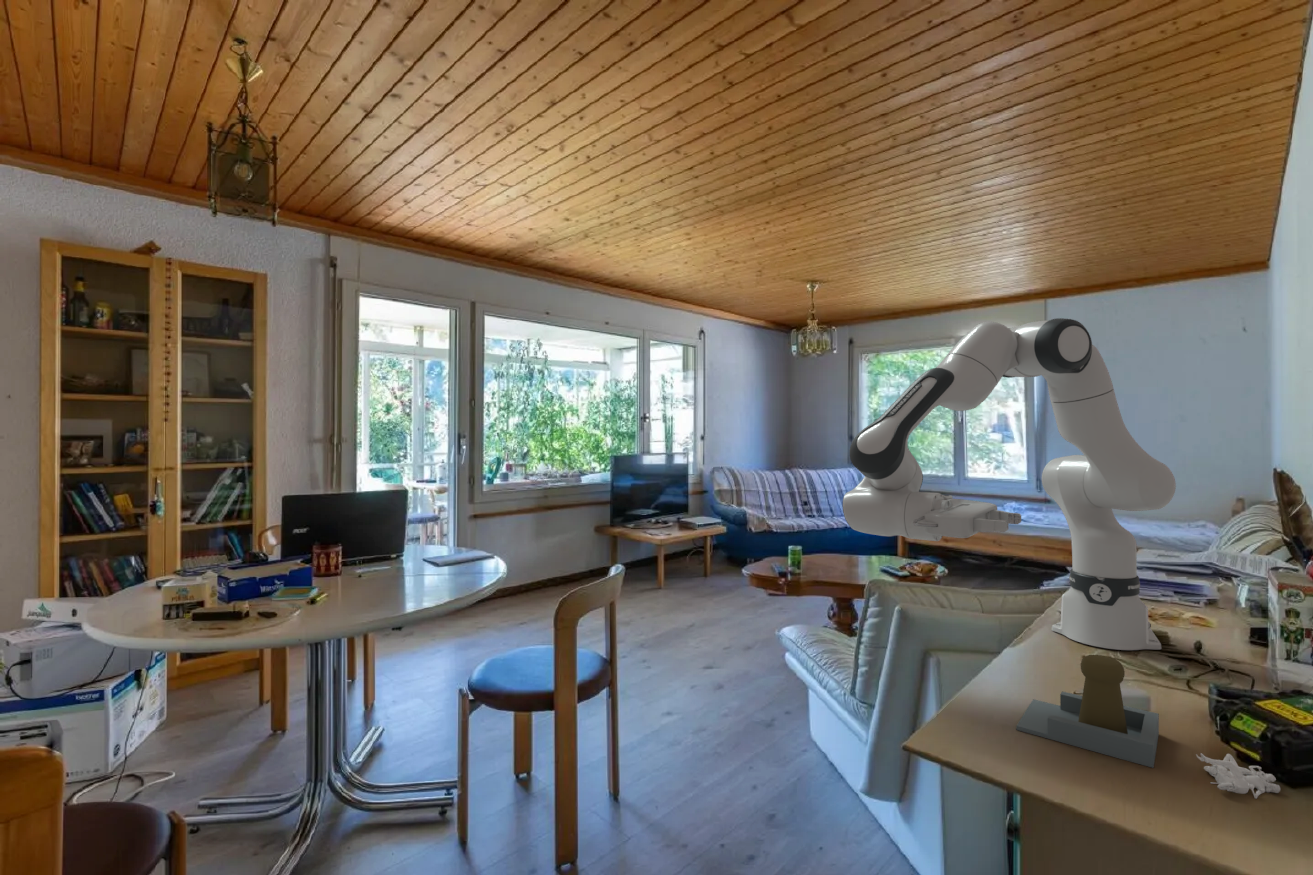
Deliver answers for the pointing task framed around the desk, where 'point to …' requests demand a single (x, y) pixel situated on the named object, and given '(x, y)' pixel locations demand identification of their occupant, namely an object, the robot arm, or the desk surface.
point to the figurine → (1239, 776)
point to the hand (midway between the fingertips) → (1014, 522)
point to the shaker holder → (1094, 729)
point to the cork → (1102, 693)
